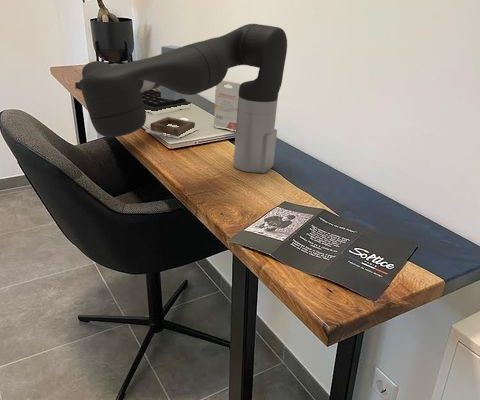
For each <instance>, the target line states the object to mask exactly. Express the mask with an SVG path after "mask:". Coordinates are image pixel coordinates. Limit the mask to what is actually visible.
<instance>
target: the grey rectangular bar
mask: <svg viewBox="0 0 480 400" xmlns="http://www.w3.org/2000/svg"><path fill="white" fill-rule="evenodd" d="M180 47H181V46H178V45H162V46H160V48H161V49H160V51H161V52H160V54H163V53H166V52H169V51H172V50H174V49H177V48H180ZM160 92H161V98H164V99H169V100H174V101H175V100H178V99H181V98H183V96H184V94H181V93H178V92H175V91H172V90H170V89H168V88H166V87H164V86H162V85H161V86H160ZM183 99H184V98H183Z"/></svg>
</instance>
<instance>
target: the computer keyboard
mask: <svg viewBox="0 0 480 400" xmlns="http://www.w3.org/2000/svg"><path fill="white" fill-rule="evenodd" d="M79 80H80V81H79V82H78V81H77V82H76V81H75V82H74V85H75V89H77V90H80V91H82V90H81V80H82V79H79ZM141 95H142V99H143V104H144V107H145V110H151V111H158V110H162V109H166V108H171V107H177V106H181V105H188V104H190V105H191V102H190V101H187V99H186V98H181V99H178V100H175V101H174V100H169V99H164V98H161V91H159V90H156V89H152V90H148V91H144V92H141Z"/></svg>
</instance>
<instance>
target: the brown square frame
mask: <svg viewBox="0 0 480 400" xmlns="http://www.w3.org/2000/svg"><path fill="white" fill-rule="evenodd" d="M168 124H172V125H177V126H179V127H172V126H167V125H168ZM194 127H195V128H196V123H195V122H194V121H191V120H186V119H185V120H184V119H182V118H175V117H170V116H167V117H164V118H162V119H159V120H156V121H153V122H151V123H150V129H151V130H152V131H156V132H161V133H166V134H170V135H174V136H180V135H181V134H183V133H185V132H186V131H188V130H190V129H192V128H194Z"/></svg>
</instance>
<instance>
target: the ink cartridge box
mask: <svg viewBox="0 0 480 400" xmlns="http://www.w3.org/2000/svg"><path fill="white" fill-rule="evenodd" d="M240 85H241V83H239V82H234V81H229V80H224V79H223V80H222V81H221V82H220V83H219V84H218V85H216V86H215V87H216V88H215V94H214V95H215V96H214V97H215V98H214V115H213V126H214V125H216V126H220V127H225V128H229V129H233V130H236V123H237V110H238V97H239V87H240ZM227 86H231V87H227Z"/></svg>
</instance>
